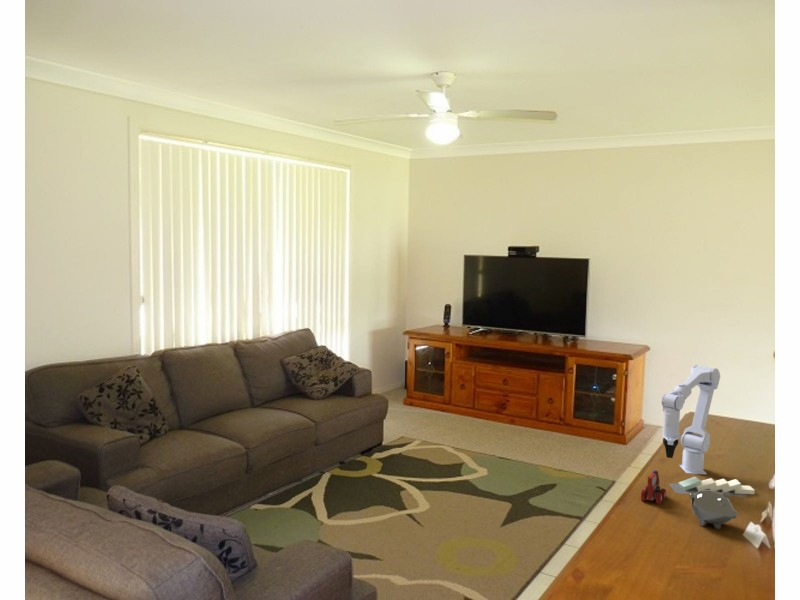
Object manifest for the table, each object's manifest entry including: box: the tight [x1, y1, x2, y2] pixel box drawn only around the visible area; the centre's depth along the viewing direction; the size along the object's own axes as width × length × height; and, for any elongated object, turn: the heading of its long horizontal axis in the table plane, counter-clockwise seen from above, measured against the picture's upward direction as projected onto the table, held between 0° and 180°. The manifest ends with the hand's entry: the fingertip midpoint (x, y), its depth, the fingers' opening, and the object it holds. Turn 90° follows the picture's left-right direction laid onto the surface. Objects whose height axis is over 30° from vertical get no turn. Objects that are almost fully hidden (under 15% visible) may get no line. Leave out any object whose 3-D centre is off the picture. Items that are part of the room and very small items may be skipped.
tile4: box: [720, 479, 742, 492], centre depth 248 cm, size 2×4×7 cm
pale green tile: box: [678, 476, 702, 491], centre depth 250 cm, size 2×4×7 cm
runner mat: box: [667, 482, 749, 498], centre depth 249 cm, size 10×26×1 cm, turn 84°
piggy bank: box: [688, 490, 738, 530], centre depth 220 cm, size 11×15×12 cm
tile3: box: [709, 478, 729, 491], centre depth 249 cm, size 2×4×7 cm
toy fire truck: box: [640, 469, 667, 505], centre depth 240 cm, size 7×12×10 cm, turn 144°
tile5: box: [732, 484, 756, 495], centre depth 248 cm, size 2×4×7 cm
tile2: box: [695, 477, 716, 491], centre depth 249 cm, size 2×4×7 cm
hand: (669, 457), depth 257 cm, fingers closed
